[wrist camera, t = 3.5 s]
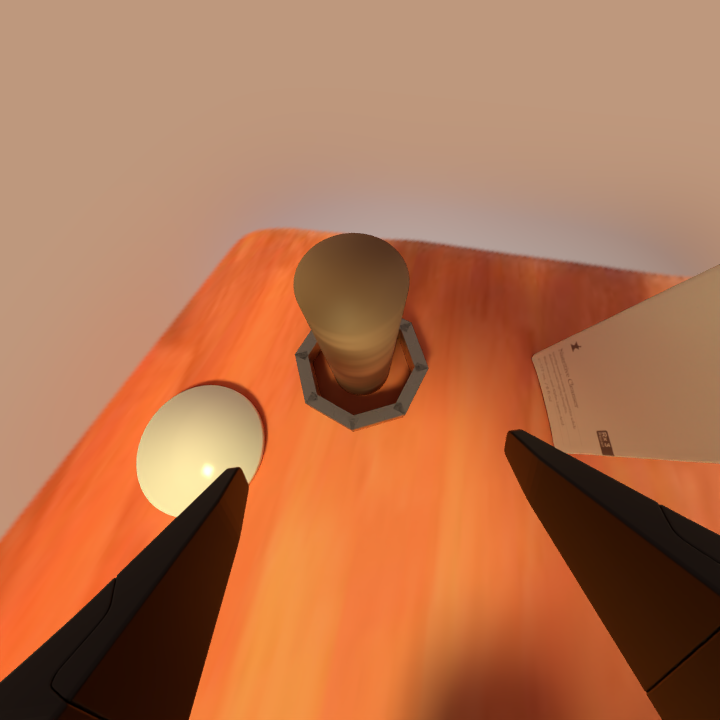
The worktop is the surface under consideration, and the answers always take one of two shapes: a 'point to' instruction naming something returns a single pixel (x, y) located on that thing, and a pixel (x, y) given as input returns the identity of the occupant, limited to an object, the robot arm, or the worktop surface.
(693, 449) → the skincare box
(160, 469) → the cream disc
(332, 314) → the walnut peg
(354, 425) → the steel ring
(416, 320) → the worktop surface
